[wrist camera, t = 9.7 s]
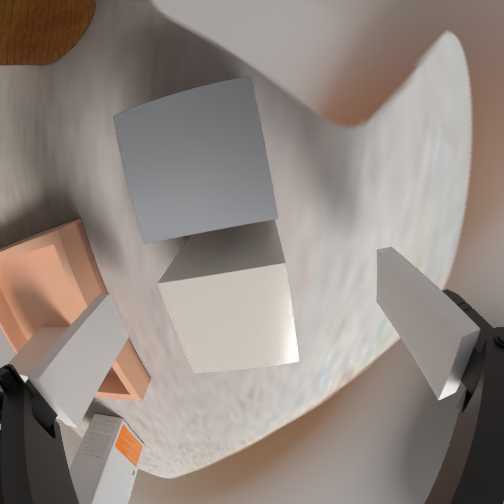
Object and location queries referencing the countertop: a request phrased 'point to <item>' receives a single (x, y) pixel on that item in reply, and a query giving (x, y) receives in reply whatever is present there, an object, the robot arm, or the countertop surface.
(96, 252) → the countertop surface
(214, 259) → the beige rectangular block
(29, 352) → the white block
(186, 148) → the grey rectangular block
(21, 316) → the dish
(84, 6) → the disposable coffee cup
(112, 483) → the skincare box
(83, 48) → the countertop surface
